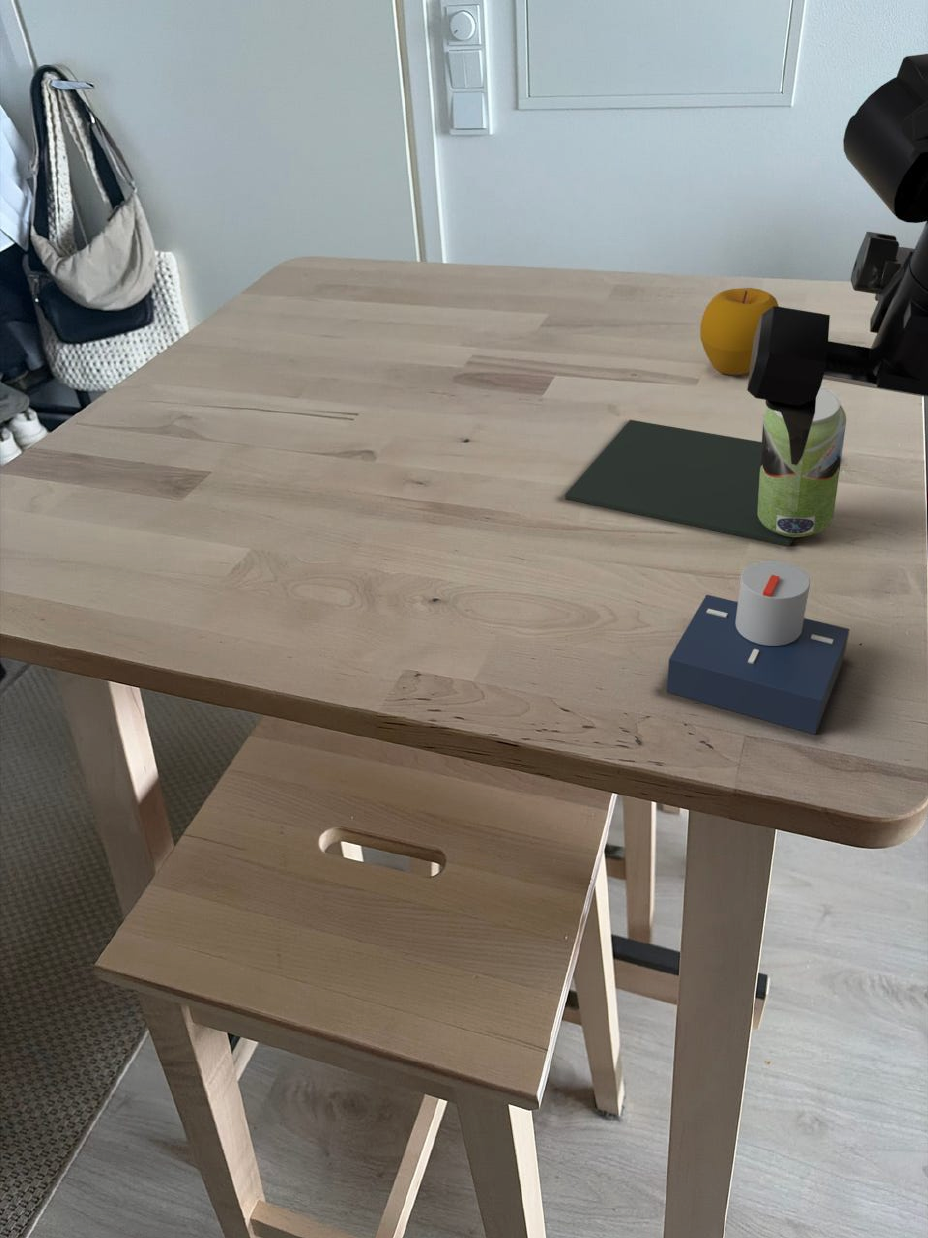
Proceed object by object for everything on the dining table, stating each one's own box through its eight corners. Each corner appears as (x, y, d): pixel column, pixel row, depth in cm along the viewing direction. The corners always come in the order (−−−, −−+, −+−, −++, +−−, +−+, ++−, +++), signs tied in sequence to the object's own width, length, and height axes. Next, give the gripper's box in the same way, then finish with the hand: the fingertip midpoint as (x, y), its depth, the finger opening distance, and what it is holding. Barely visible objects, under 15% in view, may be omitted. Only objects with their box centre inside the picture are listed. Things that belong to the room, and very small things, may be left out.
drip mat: (833, 459, 92) (834, 454, 92) (789, 546, 81) (790, 541, 81) (630, 423, 100) (630, 419, 100) (565, 499, 90) (564, 494, 89)
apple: (736, 394, 104) (744, 311, 99) (679, 370, 110) (684, 290, 105) (792, 371, 108) (804, 290, 102) (734, 349, 113) (742, 271, 108)
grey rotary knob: (745, 601, 71) (752, 550, 68) (808, 616, 69) (817, 564, 66) (727, 636, 68) (733, 585, 65) (792, 653, 66) (801, 600, 63)
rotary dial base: (849, 643, 71) (857, 608, 69) (815, 735, 64) (822, 698, 62) (712, 609, 75) (716, 575, 73) (666, 692, 68) (668, 656, 66)
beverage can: (836, 512, 84) (862, 378, 77) (821, 558, 79) (847, 419, 72) (761, 499, 86) (778, 369, 79) (741, 543, 81) (758, 408, 74)
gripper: (1128, 214, 57) (1003, 415, 70) (796, 165, 59) (735, 368, 72) (1155, 340, 50) (1012, 535, 63) (784, 280, 53) (719, 479, 66)
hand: (864, 472), depth 66 cm, fingers open, 9 cm apart
